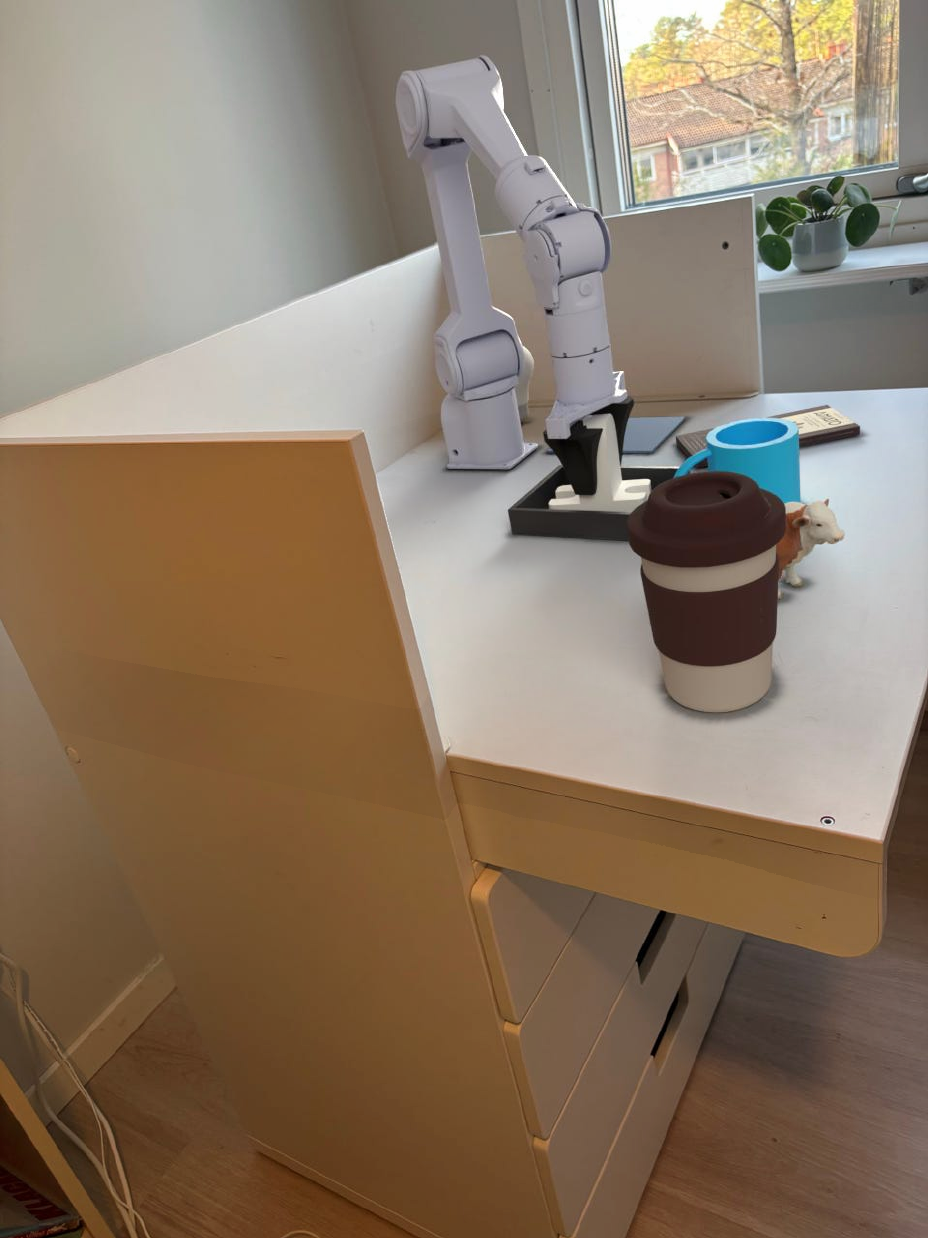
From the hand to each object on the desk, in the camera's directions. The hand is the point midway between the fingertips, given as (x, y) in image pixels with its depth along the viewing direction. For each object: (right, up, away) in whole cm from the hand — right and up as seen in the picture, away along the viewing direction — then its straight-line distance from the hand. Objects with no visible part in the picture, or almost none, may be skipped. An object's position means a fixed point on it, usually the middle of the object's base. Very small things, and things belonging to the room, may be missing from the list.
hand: (598, 481), depth 95 cm
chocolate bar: (+21, +6, +11) cm, 24 cm away
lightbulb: (-6, +13, +36) cm, 38 cm away
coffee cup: (+4, -19, -29) cm, 35 cm away
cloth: (+6, +9, +22) cm, 25 cm away
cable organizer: (+1, -3, +2) cm, 3 cm away
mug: (+12, -5, -6) cm, 14 cm away
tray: (+1, -3, +2) cm, 3 cm away
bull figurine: (+10, -12, -19) cm, 25 cm away
